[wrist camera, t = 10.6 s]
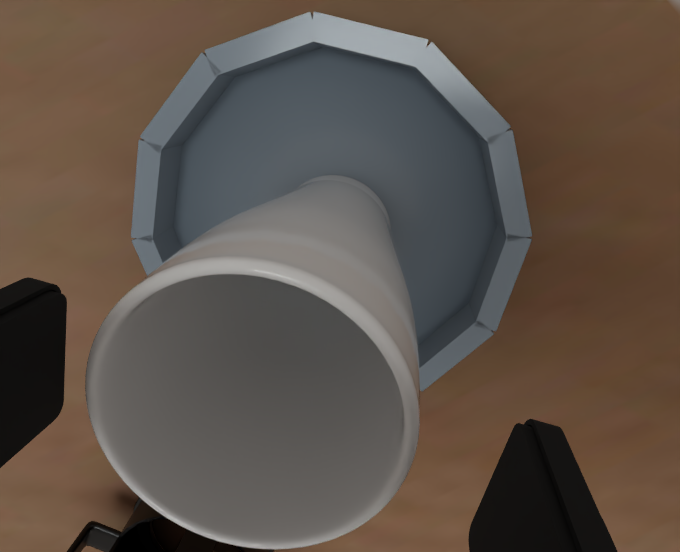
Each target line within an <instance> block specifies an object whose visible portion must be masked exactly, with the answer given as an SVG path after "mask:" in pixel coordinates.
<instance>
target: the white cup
mask: <svg viewBox="0 0 680 552" xmlns="http://www.w3.org/2000/svg"><path fill="white" fill-rule="evenodd" d="M85 391H86V402H87V408H88V413H89V418H90V421H91V424H92V427H93V430H94V433H95V435H96V438H97V440H98V442H99V445H100V447H101V448H102V450H103V452H104V454H105V456H106V458H107V459H108V461H109V462H110V464H111V465H112V467H113V468H114V470H115V471H116V472H117V474H118V475H119V476H120V477H121V479H122V480H123V481H124V482H125V483H126V484H127V485H128V486H129V488H130V489H131V490H132V491H133V492H134V493H135V494H136V495H138V496H139V497H140V498H141V499H142V500H143V501H144V502H145V503H147V504H148V505H149V506H150V507H152V508H153V509H154V510H156V511H157V512H158V513H160V514H161V515H163V516H164V517H166V518H167V519H169V520H171V521H173V522H174V523H176V524H178V525H179V526H182V527H184V528H186V529H188V530H190V531H192V532H194V533H197V534H199V535H202V536H204V537H207V538H210V539H213V540H216V541H219V542H223V543H227V544H231V545H235V546H241V547H247V548H256V549H293V548H300V547H307V546H311V545H316V544H320V543H323V542H326V541H329V540H333V539H335V538H338V537H340V536H342V535H345V534H347V533H349V532H351V531H352V530H354V529H356V528H358V527H360V526H361V525H363V524H364V523H366V522H367V521H369V520H370V519H371V518H372V517H374V516H375V515H376V514H377V513H378V512H380V511H381V510H382V509H383V508H384V507H385V506H386V505H387V504H388V503H389V502H390V500H391V499H392V498H393V497H394V495H395V494H396V493H397V491H398V490H399V488H400V487H401V485H402V483H403V482H404V480H405V478H406V476H407V474H408V472H409V470H410V468H411V465H412V462H413V459H414V456H415V453H416V449H417V444H418V438H419V427H420V415H419V405H420V372H419V351H418V339H417V330H416V324H415V318H414V312H413V306H412V302H411V298H410V294H409V291H408V287H407V283H406V280H405V277H404V274H403V270H402V267H401V264H400V261H399V258H398V255H397V252H396V248H395V245H394V242H393V238H392V232H391V223H390V219H389V215H388V212H387V210H386V208H385V206H384V204H383V202H382V201H381V199H380V198H379V197H378V196H377V194H376V193H375V192H374V191H373V190H371V189H370V188H369V187H368V186H366V185H365V184H363V183H362V182H360V181H358V180H355V179H353V178H350V177H346V176H341V175H324V176H319V177H315V178H312V179H310V180H307V181H306V182H304V183H302V184H301V185H299V186H298V187H296V188H295V189H294V190H292V191H289V192H287V193H285V194H283V195H280V196H278V197H276V198H273V199H271V200H268V201H266V202H264V203H261V204H259V205H256V206H254V207H252V208H249V209H247V210H245V211H242V212H240V213H238V214H236V215H234V216H232V217H230V218H228V219H226V220H224V221H222V222H221V223H219V224H217V225H215V226H213V227H212V228H210V229H208V230H207V231H205V232H204V233H202V234H201V235H199V236H198V237H196V238H195V239H194V240H192V241H191V242H189V243H188V244H186V245H185V246H184V247H182V248H181V249H179V250H178V251H177V252H176V253H174V254H173V255H172V256H170V257H169V258H168V259H167V260H166V261H164V262H163V263H162V264H161V265H160V266H158V267H157V268H156V269H155V270H154V271H153V272H152V273H150V274H149V275H148V276H147V277H146V278H145V279H143V280H142V281H141V282H140V283H139V284H138V285H136V286H135V287H134V288H133V289H131V290H130V291H129V292H128V293H127V294H126V295H124V296H123V297H122V298H121V299H120V300H119V302H118V303H117V304H116V305H115V306H114V307H113V308H112V309H111V311H110V312H109V314H108V315H107V317H106V318H105V319H104V321H103V323H102V324H101V326H100V328H99V330H98V332H97V334H96V336H95V339H94V341H93V344H92V346H91V350H90V354H89V357H88V361H87V369H86V381H85Z"/></svg>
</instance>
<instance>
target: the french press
mask: <svg viewBox="0 0 680 552" xmlns="http://www.w3.org/2000/svg"><path fill="white" fill-rule="evenodd" d="M156 519H167V518H166V517H164V516H163V515H161V514H160V513H158V512H157V511H156V510H154V509H153V508H152V507H150V506H149V505H148V504H147V503H145V502H144V501H143V500H142V499H141V498H140V497H139V499H138V501H137V503H136V505H135V507H134V512H133V514H132V516H131V518H130V519H129V521H128V522H127V524H126V526H125V527H124V529H123V530H122V532H120V531H118V530H115V529H113V528H110V527H108V526H106V525H103V524H101V523H98V522H95V521H91V522H89V523H88V524H87V525H86V526H85V527H84V529H83V530H82V531H81V533H80V534H79V535H78V537H77V538H76V540H75V541H74V542H73V544H72V545H71V546H70V548H69V549H68V551H67V552H81V551H82V550H83V548H84V547H85V546H91V547H94V548H96V549H99V550H101V551H104V552H165V551H164V549H163V548H162V547H161V546H160V544H159V543H158V541H157V539H156V537H155V535H154V532H153V528H152V520H156ZM215 544H216V540H213V539H210V538H207V537H204V536H202V535H199V534H197V533H194V532H192V531H190V530H188V529H187V530H186V532H185V534H184V536H183V538H182V540H181V542H180V544H179V546H178V548H177V550H176V552H212V551H213V549H214V546H215ZM237 547H238V548H239V549H240V550H241V551H242V552H273V551H274V549H256V548H247V547H241V546H237Z"/></svg>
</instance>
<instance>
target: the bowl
mask: <svg viewBox="0 0 680 552" xmlns="http://www.w3.org/2000/svg"><path fill="white" fill-rule="evenodd" d="M427 43H428V39H424V38H420V37H416V36H412V35H408V34H403V33H399V32H395V31H391V30H387V29H383V28H379V27H375V26H371V25H367V24H363V23H359V22H355V21H351V20H347V19H343V18H338V17H334V16H330V15H326V14H322V13H318V12H314V14H312V13H311V12H308V13H305V14H302V15H300V16H297V17H294V18H291V19H289V20H286V21H283V22H280V23H278V24H275V25H272V26H269V27H267V28H264V29H261V30H258V31H256V32H253V33H250V34H248V35H245V36H242V37H239V38H237V39H234V40H231V41H228V42H226V43H223V44H220V45H217V46H215V47H212V48H209V49H206V50H205V53H201V54H200V55H199V57H198V58H197V59H196V61H195V62H194V63H193V65H192V66H191V68H190V69H189V70H188V72H187V73H186V74H185V76H184V77H183V78H182V80H181V81H180V83H179V84H178V85H177V87H176V88H175V89H174V91H173V92H172V93H171V95H170V96H169V98H168V99H167V100H166V102H165V103H164V104H163V106H162V107H161V108H160V110H159V111H158V113H157V114H156V115H155V117H154V118H153V119H152V121H151V122H150V123H149V125H148V126H147V128H146V129H145V130H144V132H143V133H142V134H141V136H140V137H141V138H142V139H140V140H139V143H138V156H137V168H136V181H135V193H134V206H133V218H132V230H131V237H132V238H135V239H133V240H132V243H133V245H134V247H135V249H136V252H137V254H138V256H139V258H140V261H141V263H142V265H143V267H144V270H145V272H146V274H147V276H148V275H149V274H150V273H152V272H153V271H154V270H155V269H156V268H157V267H158V266H160V265H161V264H162V263H163V262H164V261H166V260H167V259H168V258H169V257H170V256H172V255H173V254H174V253H176V252H177V251H178V250H179V249H181V248H182V247H184V246H185V245H186V244H188V243H189V242H191V241H192V240H194V239H195V238H196V237H198V236H199V235H201V234H202V233H204V232H205V231H207V230H208V229H210V228H212V227H213V226H215V225H217V224H219V223H221V222H222V221H224V220H226V219H228V218H230V217H232V216H234V215H236V214H238V213H240V212H242V211H245V210H247V209H249V208H252V207H254V206H256V205H259V204H261V203H264V202H266V201H268V200H271V199H273V198H276V197H278V196H280V195H283V194H285V193H287V192H289V191H292V190H294V189H295V188H296V187H298V186H299V185H301V184H302V183H304V182H306V181H307V180H310V179H312V178H315V177H319V176H324V175H341V176H346V177H350V178H353V179H355V180H358V181H360V182H362V183H363V184H365V185H366V186H368V187H369V188H370V189H371V190H373V191H374V192H375V193H376V194H377V196H378V197H379V198H380V199H381V201H382V202H383V204H384V206H385V208H386V210H387V212H388V215H389V219H390V223H391V232H392V238H393V242H394V245H395V248H396V252H397V255H398V258H399V261H400V264H401V267H402V270H403V274H404V277H405V280H406V283H407V287H408V291H409V294H410V298H411V302H412V306H413V312H414V318H415V324H416V330H417V339H418V351H419V372H420V390H421V391H423V390H425V389H426V388H427V387H428V386H430V385H431V384H432V383H433V382H435V381H436V380H437V379H438V378H440V377H441V376H442V375H443V374H445V373H446V372H447V371H448V370H450V369H451V368H452V367H453V366H455V365H456V364H457V363H458V362H460V361H461V360H462V359H463V358H465V357H466V356H467V355H468V354H470V353H471V352H472V351H473V350H475V349H476V348H477V347H478V346H480V345H481V344H482V343H483V342H485V341H486V340H487V339H488V338H490V337H491V336H492V335H493V334H494V333H493V331H496V330H497V328H498V325H499V322H500V320H501V317H502V315H503V312H504V310H505V307H506V305H507V302H508V299H509V297H510V294H511V292H512V289H513V287H514V284H515V281H516V279H517V276H518V274H519V271H520V269H521V266H522V264H523V261H524V258H525V256H526V253H527V251H528V248H529V246H530V243H531V241H532V239H531V238H530V236H532V232H531V227H530V221H529V216H528V210H527V205H526V199H525V194H524V189H523V183H522V178H521V172H520V167H519V162H518V156H517V151H516V145H515V140H514V134H513V130H511V129H509V128H510V127H511V126H510V125H509V124H508V123H507V122H506V121H505V120H504V118H503V117H502V116H501V115H500V114H499V113H498V112H497V111H496V110H495V109H494V108H493V107H492V106H491V105H490V103H489V102H488V101H487V100H486V99H485V98H484V97H483V96H482V95H481V94H480V93H479V92H478V91H477V90H476V88H475V87H474V86H473V85H472V84H471V83H470V82H469V81H468V80H467V79H466V78H465V77H464V76H463V75H462V73H461V72H460V71H459V70H458V69H457V68H456V67H455V66H454V65H453V64H452V63H451V62H450V61H449V60H448V58H447V57H446V56H445V55H444V54H443V53H442V52H441V51H440V50H439V49H438V48H437V47H436V46H435V45H434V43H433V42H431V43H430V44H429V45H428V46H427ZM426 46H427V48H426Z"/></svg>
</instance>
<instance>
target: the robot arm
mask: <svg viewBox="0 0 680 552" xmlns="http://www.w3.org/2000/svg"><path fill="white" fill-rule="evenodd" d="M66 311H67V300H66V297H65V296H64V295H63V294H61V290H60V288H59V287H58V286H57V285H54V284H51V283H47V282H44V281H40V280H37V279H33V278H24V279H21V280H19V281H17V282H15V283H13V284H10V285H8V286H6V287H4V288H2V289H0V468H1V467H2V466H3V465H4V464H5V463H6V462H7V461H9V460H10V459H11V458H12V457H13V456H14V455H15V454H17V453H18V452H19V451H20V450H21V449H22V448H23V447H24V446H26V445H27V444H28V443H29V442H30V441H31V440H32V439H34V438H35V437H36V436H37V435H38V434H39V433H40V432H41V431H43V430H44V429H45V428H46V427H47V426H48V425H49V424H51V423H52V422H53V421H54V420H55V419H56V418H57V416H58V415H59V413H60V411H61V409H62V406H63V401H64V372H65V342H66ZM469 550H470V552H617V550H616V547H615V545H614V543H613V541H612V538H611V536H610V534H609V532H608V530H607V527H606V525H605V523H604V521H603V519H602V517H601V515H600V513H599V511H598V509H597V507H596V504H595V502H594V500H593V498H592V495H591V493H590V491H589V489H588V486H587V484H586V482H585V480H584V477H583V475H582V473H581V471H580V468H579V466H578V464H577V462H576V460H575V457H574V455H573V453H572V451H571V448H570V446H569V444H568V442H567V439H566V437H565V435H564V433H563V431H562V429H561V428H560V427H558V426H554V425H551V424H547V423H544V422H540V421H537V420H533V419H529V420H527V421H526V422H525V424H524V425H523V424H520V423H518V424H516V425H515V426H514V428H513V430H512V432H511V435H510V437H509V439H508V441H507V444H506V446H505V448H504V450H503V453H502V455H501V457H500V460H499V462H498V464H497V466H496V469H495V471H494V473H493V475H492V478H491V480H490V482H489V485H488V487H487V489H486V491H485V494H484V496H483V498H482V500H481V503H480V505H479V507H478V510H477V512H476V514H475V516H474V519H473V521H472V523H471V527H470V531H469Z"/></svg>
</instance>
